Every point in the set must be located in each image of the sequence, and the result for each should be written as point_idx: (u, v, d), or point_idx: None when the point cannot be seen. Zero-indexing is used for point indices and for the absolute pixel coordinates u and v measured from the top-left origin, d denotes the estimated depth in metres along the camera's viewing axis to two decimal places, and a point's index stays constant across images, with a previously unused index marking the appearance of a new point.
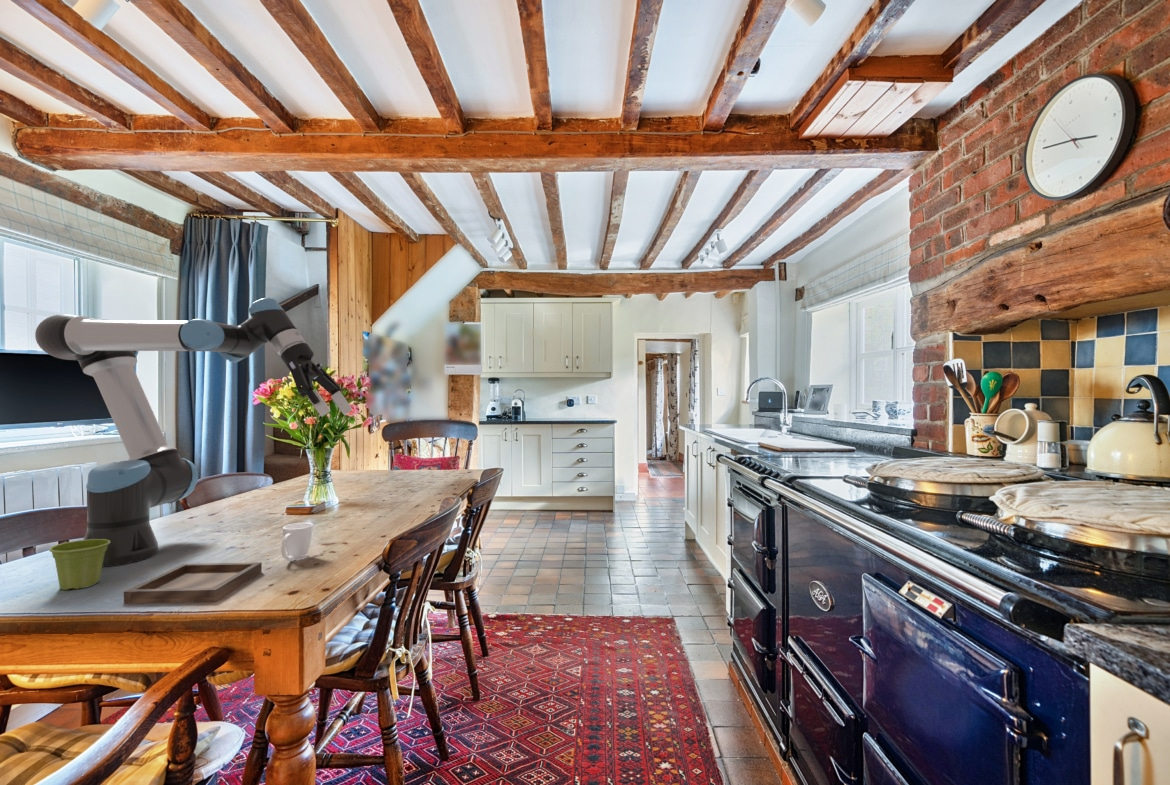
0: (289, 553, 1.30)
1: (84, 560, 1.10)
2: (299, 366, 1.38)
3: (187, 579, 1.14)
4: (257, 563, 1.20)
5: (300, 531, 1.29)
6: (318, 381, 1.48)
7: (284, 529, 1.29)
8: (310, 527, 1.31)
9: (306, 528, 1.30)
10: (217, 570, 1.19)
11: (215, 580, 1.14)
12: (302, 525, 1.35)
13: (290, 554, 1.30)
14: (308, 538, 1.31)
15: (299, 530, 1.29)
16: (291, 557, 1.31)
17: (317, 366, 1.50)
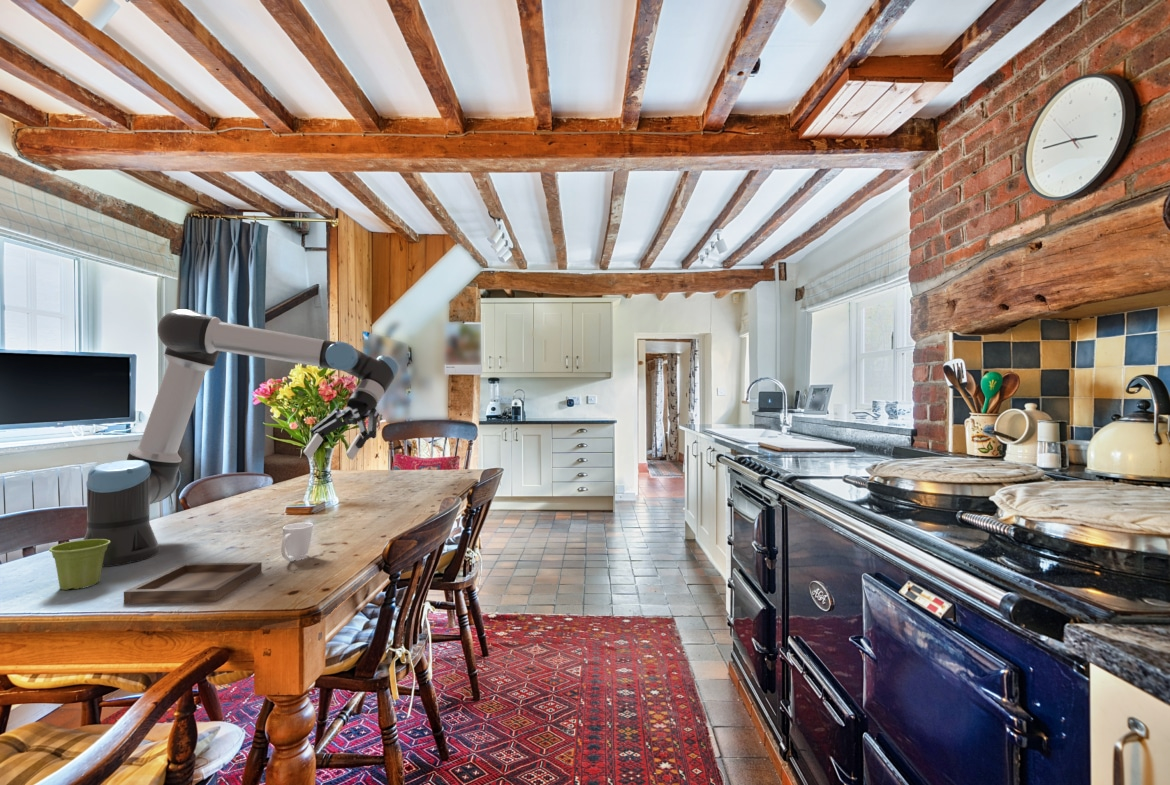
0: (289, 553, 1.30)
1: (84, 560, 1.10)
2: None
3: (187, 579, 1.14)
4: (257, 563, 1.20)
5: (300, 531, 1.29)
6: (336, 422, 1.49)
7: (284, 529, 1.29)
8: (310, 527, 1.31)
9: (306, 528, 1.30)
10: (217, 570, 1.19)
11: (215, 580, 1.14)
12: (302, 525, 1.35)
13: (290, 554, 1.30)
14: (308, 538, 1.31)
15: (299, 530, 1.29)
16: (291, 557, 1.31)
17: None
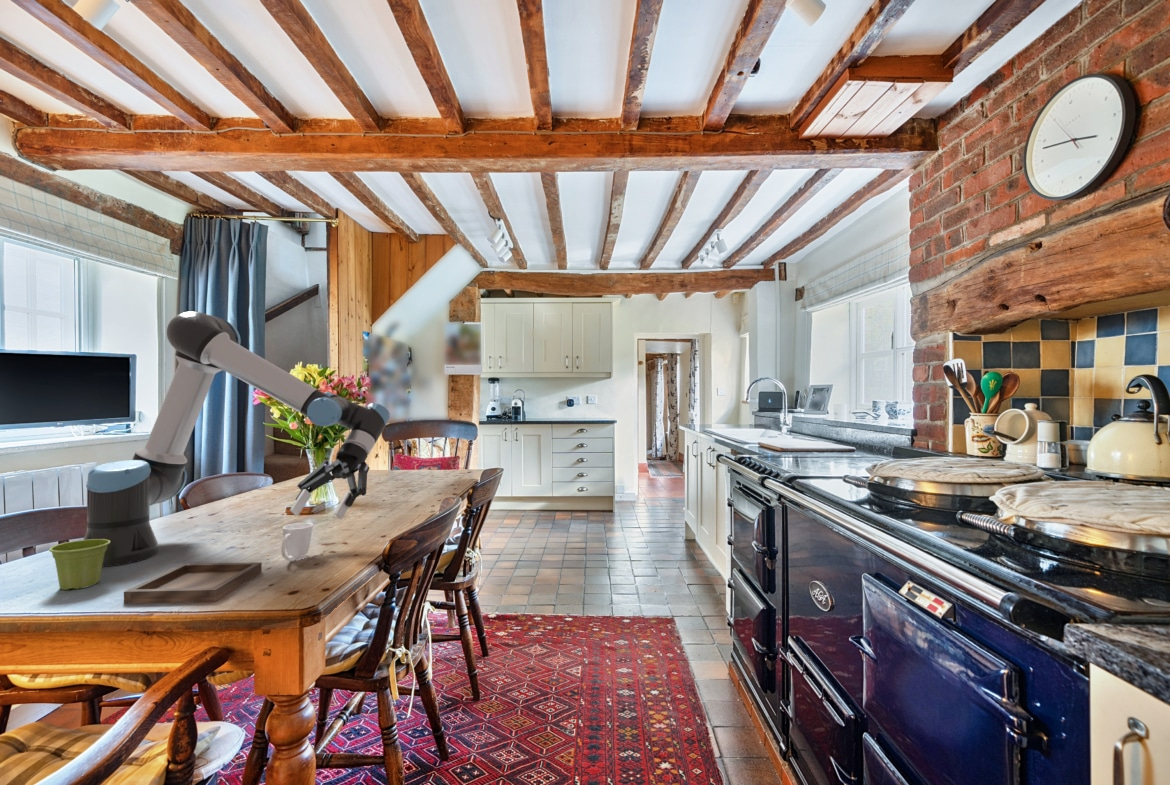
0: (289, 553, 1.30)
1: (84, 560, 1.10)
2: None
3: (187, 579, 1.14)
4: (257, 563, 1.20)
5: (300, 531, 1.29)
6: (325, 476, 1.44)
7: (284, 529, 1.29)
8: (310, 527, 1.31)
9: (306, 528, 1.30)
10: (217, 570, 1.19)
11: (215, 580, 1.14)
12: (302, 525, 1.35)
13: (290, 554, 1.30)
14: (308, 538, 1.31)
15: (299, 530, 1.29)
16: (291, 557, 1.31)
17: None
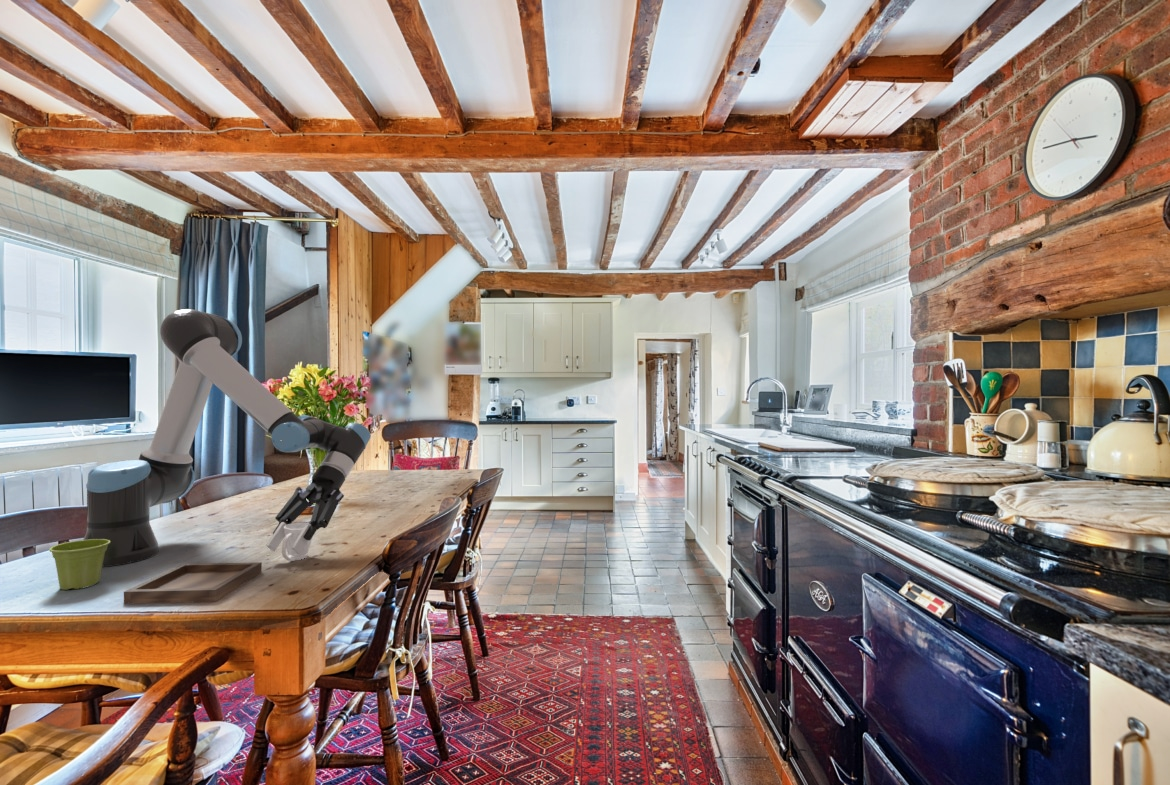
0: (289, 553, 1.30)
1: (84, 560, 1.10)
2: None
3: (187, 579, 1.14)
4: (257, 563, 1.20)
5: (301, 531, 1.29)
6: (302, 504, 1.36)
7: (285, 529, 1.29)
8: None
9: None
10: (217, 570, 1.19)
11: (215, 580, 1.14)
12: (303, 524, 1.35)
13: (290, 554, 1.30)
14: None
15: (300, 531, 1.29)
16: (291, 556, 1.31)
17: None
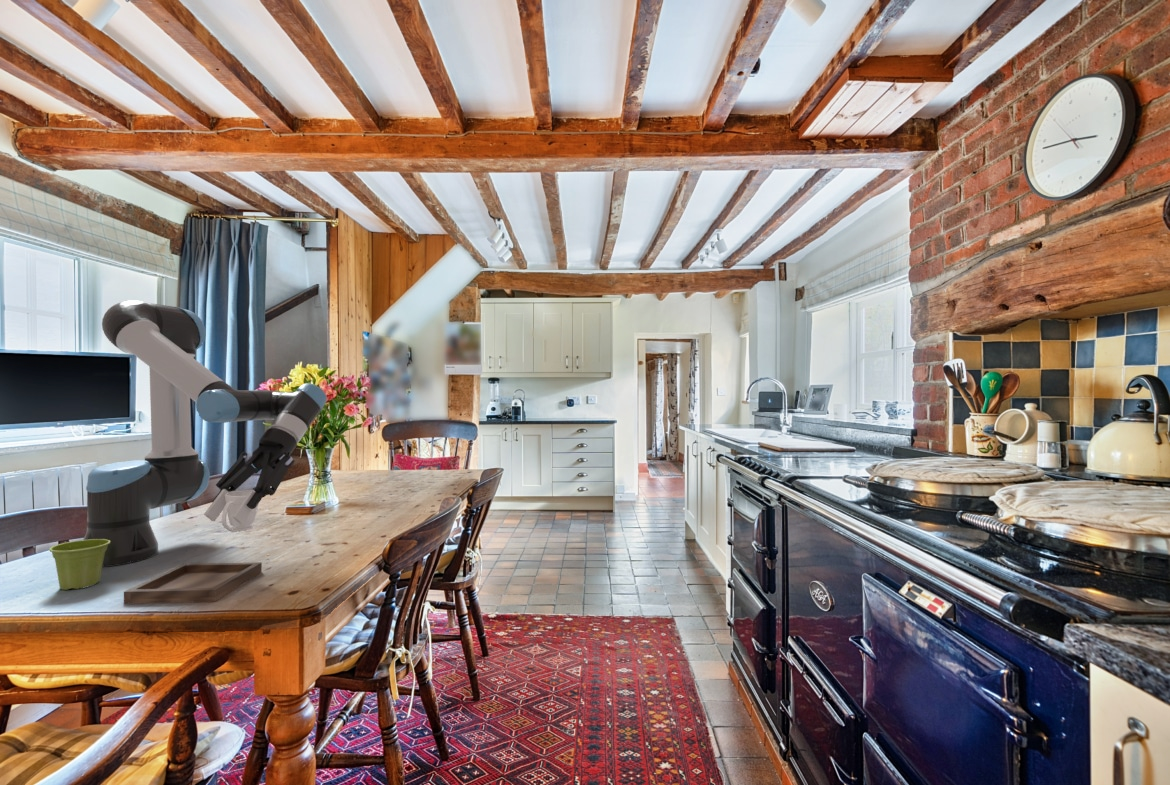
0: (232, 523, 1.17)
1: (84, 560, 1.10)
2: None
3: (187, 579, 1.14)
4: (257, 563, 1.20)
5: None
6: (247, 469, 1.22)
7: (226, 496, 1.16)
8: None
9: None
10: (217, 570, 1.19)
11: (215, 580, 1.14)
12: (248, 492, 1.22)
13: (233, 524, 1.17)
14: None
15: (244, 498, 1.16)
16: (234, 527, 1.18)
17: None
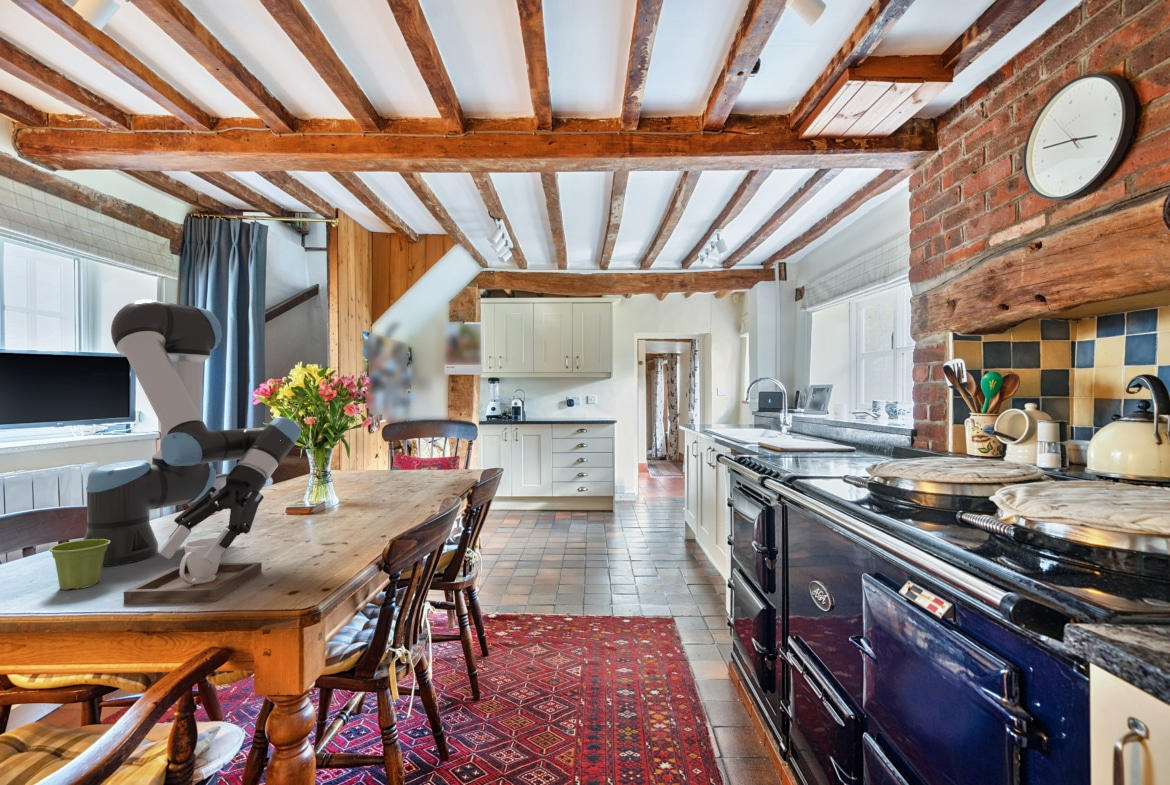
0: (192, 575, 1.12)
1: (84, 560, 1.10)
2: None
3: None
4: (257, 563, 1.20)
5: (205, 549, 1.11)
6: (209, 507, 1.18)
7: (186, 547, 1.11)
8: None
9: None
10: (217, 570, 1.19)
11: (215, 580, 1.14)
12: (211, 541, 1.17)
13: (193, 576, 1.12)
14: None
15: (203, 548, 1.11)
16: (195, 579, 1.13)
17: None
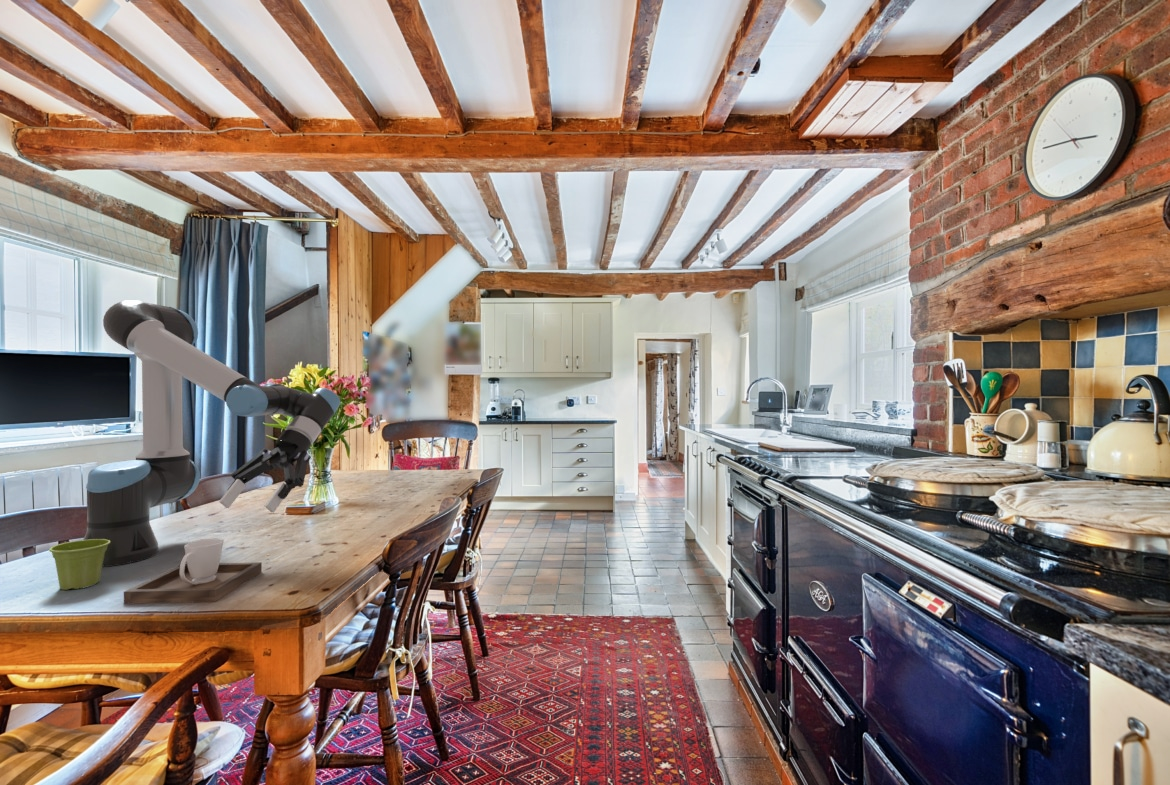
0: (192, 575, 1.12)
1: (84, 560, 1.10)
2: None
3: None
4: (257, 563, 1.20)
5: (205, 549, 1.11)
6: (261, 466, 1.32)
7: (186, 547, 1.11)
8: (218, 544, 1.13)
9: (213, 546, 1.12)
10: (217, 570, 1.19)
11: (215, 580, 1.14)
12: (211, 541, 1.17)
13: (193, 576, 1.12)
14: (216, 557, 1.13)
15: (204, 549, 1.11)
16: (195, 579, 1.13)
17: None
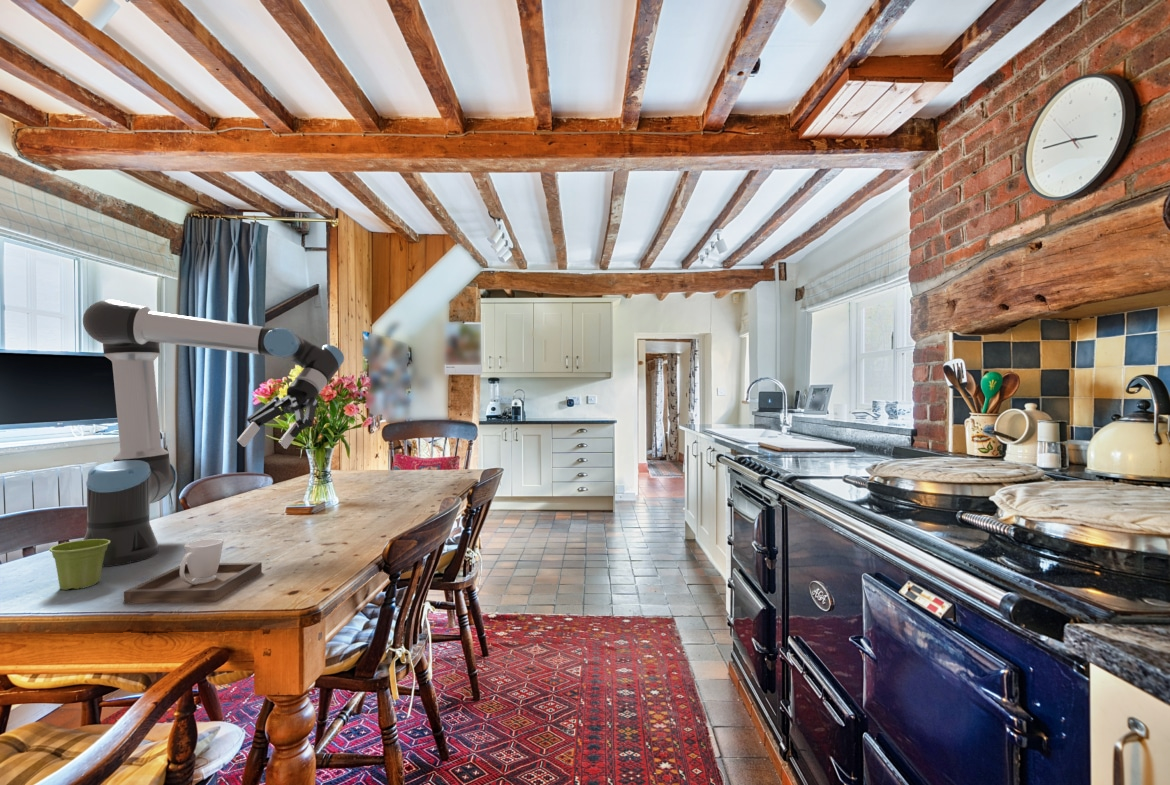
0: (192, 575, 1.12)
1: (84, 560, 1.10)
2: None
3: None
4: (257, 563, 1.20)
5: (205, 549, 1.11)
6: (274, 411, 1.46)
7: (186, 547, 1.11)
8: (218, 544, 1.13)
9: (213, 546, 1.12)
10: (217, 570, 1.19)
11: (215, 580, 1.14)
12: (211, 541, 1.17)
13: (193, 576, 1.12)
14: (216, 557, 1.13)
15: (204, 549, 1.11)
16: (195, 579, 1.13)
17: None
